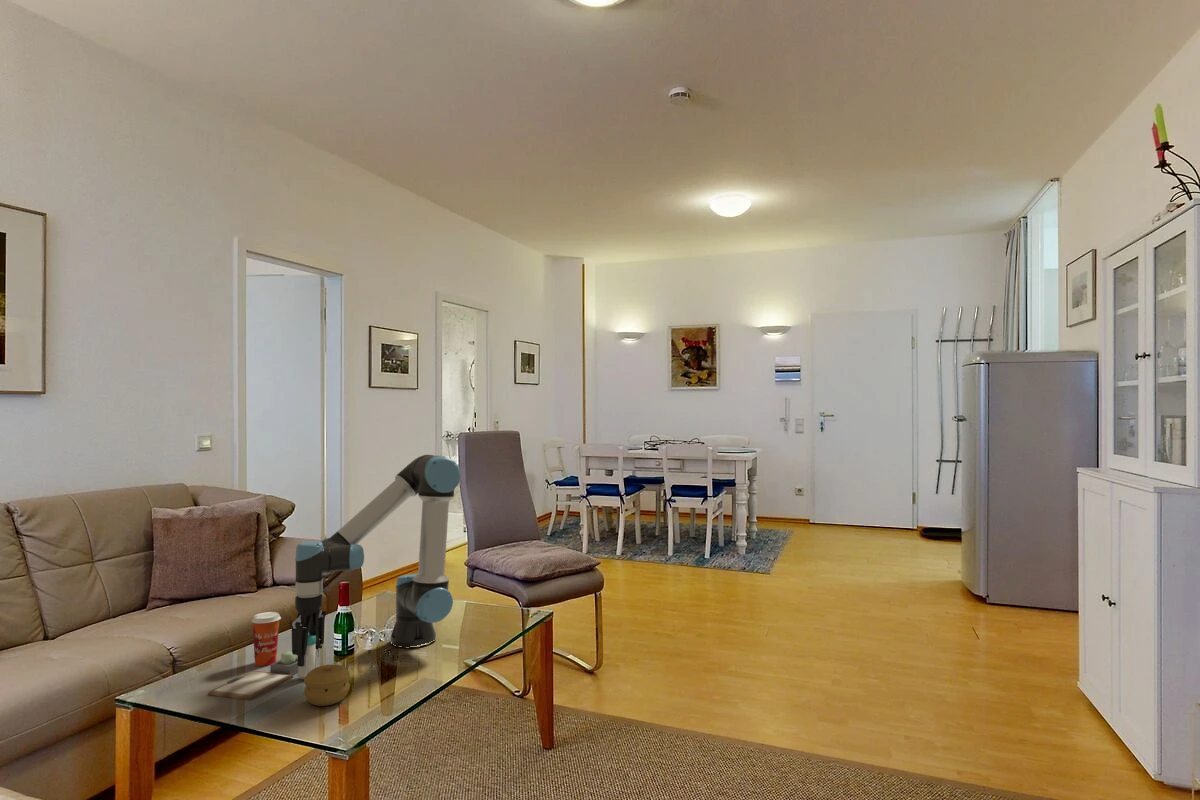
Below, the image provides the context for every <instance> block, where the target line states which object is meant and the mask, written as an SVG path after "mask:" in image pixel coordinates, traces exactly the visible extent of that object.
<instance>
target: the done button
mask: <svg viewBox="0 0 1200 800" xmlns="http://www.w3.org/2000/svg"><path fill="white" fill-rule="evenodd" d="M296 656H297V655H293V654H292V650H289V651H283V652H282V653H281V654H280V658H281V659H280V660H281V664H285V665H290V664H293V663H295V660H296V658H297V657H296Z"/></svg>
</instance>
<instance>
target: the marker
mask: <svg viewBox="0 0 1200 800" xmlns="http://www.w3.org/2000/svg"><path fill="white" fill-rule="evenodd" d="M306 654H308V673H309V672H310V671H311V670H313V669H315V654H316V635H309V634H308V641H307V648H306ZM304 679H305V677H300V680H303V681H304Z"/></svg>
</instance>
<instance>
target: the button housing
mask: <svg viewBox="0 0 1200 800" xmlns="http://www.w3.org/2000/svg"><path fill="white" fill-rule="evenodd" d="M297 663H298V657H296V660H295V663H293V664H290V665H285V664H281V659H279V660H276V662H274V663H272V664H270V665H269V666H270V668H269V669H270V670H269V671H270V672H271V673H279V674H288V675H293V676H294V675H296V674H298V665H297Z"/></svg>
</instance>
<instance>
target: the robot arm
mask: <svg viewBox="0 0 1200 800" xmlns="http://www.w3.org/2000/svg"><path fill="white" fill-rule="evenodd" d="M461 474H462V473H461V469H460V467H459V465H458V463H456V461H454V460H453V459H452V458H450V457H449V456H448V457H447V456H445V455H433V454H424V455H420V456H418V457H417V458H415V459H413V460H412V461H410V463H408V464H407V465H406V466H405V467H404V468H403V469H401V471H399V472H398V473H397V474H396V475H395V477H394V481H393V482H391V483H390V484H389V485H388V486H387V487H386V488H384V489H383V490H382V491H380V493H379V494H378V495H377V496H376V497H374V498H373V499H372V500H371V501H370V502H369V503H368V504H367V505H366V506H364V507H363V508H362V509H361V510H360V511H359V512H358V513H357V514H355V515H354V516H353V517H352V518H351V519H349V521H347V522H346V523H345V524H344V525H343V526H342V527H340V528H339V529H338V530H337V531H336V532H335V533H333V534H332V535H331V536H330V537H327V538H324V539H322V540H320V541H316V540H315V541H303V542H300V543H299V544H297V546H296V549H295V550H296V551H295V558H294V561H295V595H296V596H295V598H294V600H295V601H294V608H295V610H297V615H296V619H295V620H293V621H290V623H289V626H290V629H291V651H292V654H293V655H296V656H297V658H298V663H297V665H298V673H297V677H298V678H299V677H300V678H301V677H306V675H307V674H308V654H306V648H307V641H308V635H316V654H315V668H317V667H319V656H320V655H319V651H320V649H322V648H323V645H324V643H325V624H326V623H325V621H326V620H325V619H326V616H327V611H326V610H321V609H320V608H322V606H323V594H322V593H323V590H324V586H323V583H324V582H323V579H324V578H323V574H326V573H333V572H342V571H344V572H345V571H353V570H356V569H361V567H363V565H364V562H365V552H364V551H365V550H364V548H363V546H362V545H361V544H360V542H361V541H363V540H364V539H365V538H366V537H367V536H368V535H369V534H370V533H371V532H372V531H374V530H375V529H376V528H377V527H378V526H379V525H380V524H381V523H382V522H384V521H385V520H386V519H387V518H388V517H389V516H390V515H391V514H392V513H394V512H395V511H396V510H397V509H398V508H399V507H400V506H401V505H402V504H403V503H405V502H406V501H407V500H408V499H409V498H410V497H416V496H418V498H419V499H420V500H421V501H422V503H421V504H422V508H421V524H420V536H419V537H420V538H419V553H418V570H417V573H411V574H404V575H400V576H398V577H397V579H396V585H395V622H394V624H393V628H392V631H391V634H390V643H391V642H392V644H394V645H396V646H402V647H410V646H417V645H421V644H425V643H429V642H431V641H433V640H435V638H436V639H437V633H436V631H435V630H436V629H435V627H434V623H438V622H441V621H443V620H444V619H445V618H447V616H448V615H449V614H450V613H451V611H452V609H453V603H454V599H453V596H452V594H451V592H450V591H449V581H450V579H449V577H448V576H447V575H446V573H445V569H446V554H447V540H448V539H447V537H448V523H449V522H448V521H449V506H450V501H451V500H452V499H453V498H455V489H456V488H457V486H459V484H460V481H461ZM435 641H436V640H435Z"/></svg>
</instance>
